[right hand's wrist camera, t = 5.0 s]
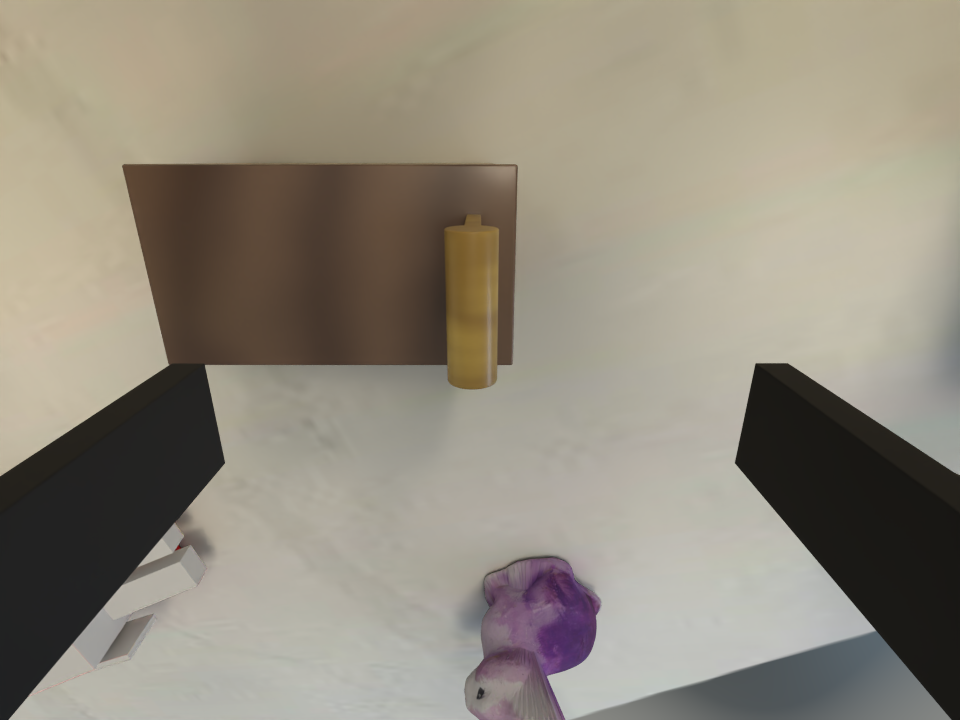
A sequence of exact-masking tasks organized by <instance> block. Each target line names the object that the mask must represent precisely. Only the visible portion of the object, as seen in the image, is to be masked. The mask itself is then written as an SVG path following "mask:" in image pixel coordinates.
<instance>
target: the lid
mask: <svg viewBox="0 0 960 720" xmlns="http://www.w3.org/2000/svg"><path fill="white" fill-rule="evenodd" d="M122 167H123V171H124V175H125V180H126V184H127V188H128V193H129V197H130V201H131V205H132V210H133V214H134V218H135V222H136V227H137V231H138V235H139V239H140V244H141V248H142V252H143V257H144V261H145V265H146V269H147V274H148V278H149V282H150V286H151V291H152V295H153V299H154V304H155V308H156V312H157V316H158V321H159V325H160V329H161V333H162V338H163V342H164V346H165V351H166V355H167V359H168V363H169V365H171V364H172V363H204V364H205V365H447V367H448V381H449V383H450V384H451V385H453V386H455V387H458V388H462V389H482V388H486V387H489V386H492V385H493V384H494V383H495V382H496V381H497V365H512V364H513V329H514V289H515V250H516V210H517V170H518V167H517V165H515V164H124V165H123V166H122Z"/></svg>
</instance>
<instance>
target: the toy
mask: <svg viewBox="0 0 960 720" xmlns="http://www.w3.org/2000/svg"><path fill="white" fill-rule="evenodd" d="M183 537H184V535H183V534H182V532H181V531H180V529H179V528H178V527H177V525H176V524H175V523H174V524H173V525H172V527H171V528H170V529H169V530H168V531H167V532H166V534H165V535H164V536H163V537H162V538H161V540H160V541H159V542H158V543H157V544H156V545H155V547H154V548H153V549H152V550H151V551H150V553H149V554H148V555H147V556H146V557H145V558H144V560H143V561H142V562H141V563H140V564H139V566H138V567H137V568H136V569H135V570H134V572H133V573H132V574H131V575H130V576H129V577H128V579H127V580H126V581H125V582H124V583H123V585H122V586H121V587H120V588H119V589H118V590H117V592H116V593H115V594H114V595H113V596H112V598H111V599H110V600H109V601H108V602H107V604H106V605H105V606H104V607H103V608H102V609H101V611H100V612H99V613H98V614H97V615H96V617H95V618H94V619H93V620H92V621H91V622H90V624H89V625H88V626H87V627H86V628H85V630H84V631H83V632H82V633H81V634H80V635H79V637H78V638H77V639H76V640H75V641H74V643H73V644H72V645H71V646H70V647H69V649H68V650H67V651H66V652H65V653H64V654H63V656H62V657H61V658H60V659H59V660H58V662H57V663H56V664H55V665H54V666H53V667H52V669H51V670H50V671H49V672H48V673H47V675H46V676H45V677H44V678H43V679H42V680H41V682H40V683H39V684H38V685H37V686H36V688H35V689H34V690H33V691H32V692H31V694H30V695H29V696H31V695H33V694H36V693H38V692H41V691H43V690H46V689H48V688H51V687H53V686H56V685H58V684H60V683H63V682H65V681H68V680H70V679H73V678H75V677H78V676H80V675H83V674H85V673H89V672H92V671H95V670H98V669H101V668H105V667H108V666H111V665H114V664H117V663H121V662H124V661H127V660H130V659H131V658H132V656H133V655H134V653H135V651H136V650H137V648H138V647H139V645H140V644H141V642H142V641H143V639H144V638H145V636H146V635H147V633H148V631H149V630H150V628H151V627H152V625H153V624H154V622H155V621H156V619H157V617H156V616H155V614H151V615H148V616H145V617H142V618H138V619H135V620H132V621H129V622H127V620H128V619H129V617H130V616H131V614H132V613H133V612H135V611H137V610H140V609H142V608H145V607H147V606H150V605H152V604H155V603H157V602H160V601H162V600H164V599H167V598H169V597H172V596H174V595H177V594H179V593H182V592H184V591H187V590H189V589H191V588H194V587H196V586H198V584H199V582H200V581H201V579H202V577H203V575H204V573H205V571H206V570H207V567H206V566H205V564H204V563H203V561H202V560H201V559H200V557H199V556H198V554H197V553H196V552H195V550H194V549H193V547H192V546H191V545H188V546H186V547H184V548H180V546H179V543H180V542H181V540H182V539H183ZM29 696H28V697H29Z"/></svg>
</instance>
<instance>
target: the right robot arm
mask: <svg viewBox="0 0 960 720" xmlns="http://www.w3.org/2000/svg"><path fill="white" fill-rule="evenodd" d="M224 464H225V460H224V456H223V451H222V446H221V441H220V436H219V432H218V427H217V422H216V417H215V412H214V408H213V403H212V398H211V393H210V388H209V383H208V379H207V374H206V369H205V364H204V363H172V364H171V365H169V366H168V367H166V368H164V369H163V370H161V371H160V372H158V373H157V374H155V375H154V376H152V377H151V378H149V379H148V380H146V381H145V382H143V383H142V384H140V385H139V386H137V387H136V388H134V389H133V390H131V391H129V392H128V393H126V394H125V395H123V396H122V397H120V398H119V399H117V400H116V401H114V402H113V403H111V404H110V405H108V406H107V407H105V408H104V409H102V410H101V411H99V412H98V413H96V414H95V415H93V416H91V417H90V418H88V419H87V420H85V421H84V422H82V423H81V424H79V425H78V426H76V427H75V428H73V429H72V430H70V431H69V432H67V433H66V434H64V435H63V436H61V437H60V438H58V439H56V440H55V441H53V442H52V443H50V444H49V445H47V446H46V447H44V448H43V449H41V450H40V451H38V452H37V453H35V454H34V455H32V456H31V457H29V458H28V459H26V460H25V461H23V462H21V463H20V464H18V465H17V466H15V467H14V468H12V469H11V470H9V471H8V472H6V473H5V474H3V475H2V476H0V720H9V718H10V717H11V716H12V715H13V714H14V712H15V711H16V710H17V709H18V708H19V707H20V705H21V704H22V703H23V702H24V701H25V699H26V698H27V697H28V696H29V695H30V694H31V692H32V691H33V690H34V689H35V688H36V686H37V685H38V684H39V683H40V682H41V680H42V679H43V678H44V677H45V676H46V675H47V673H48V672H49V671H50V670H51V669H52V667H53V666H54V665H55V664H56V663H57V662H58V660H59V659H60V658H61V657H62V656H63V654H64V653H65V652H66V651H67V650H68V649H69V647H70V646H71V645H72V644H73V643H74V641H75V640H76V639H77V638H78V637H79V635H80V634H81V633H82V632H83V631H84V630H85V628H86V627H87V626H88V625H89V624H90V622H91V621H92V620H93V619H94V618H95V617H96V615H97V614H98V613H99V612H100V611H101V609H102V608H103V607H104V606H105V605H106V604H107V602H108V601H109V600H110V599H111V598H112V596H113V595H114V594H115V593H116V592H117V590H118V589H119V588H120V587H121V586H122V585H123V583H124V582H125V581H126V580H127V579H128V577H129V576H130V575H131V574H132V573H133V572H134V570H135V569H136V568H137V567H138V566H139V564H140V563H141V562H142V561H143V560H144V558H145V557H146V556H147V555H148V554H149V553H150V551H151V550H152V549H153V548H154V547H155V545H156V544H157V543H158V542H159V541H160V540H161V538H162V537H163V536H164V535H165V534H166V532H167V531H168V530H169V529H170V528H171V527H172V525H173V524H174V523H175V522H176V521H177V519H178V518H179V517H180V516H181V515H182V513H183V512H184V511H185V510H186V509H187V508H188V506H189V505H190V504H191V503H192V502H193V500H194V499H195V498H196V497H197V496H198V495H199V493H200V492H201V491H202V490H203V489H204V487H205V486H206V485H207V484H208V483H209V481H210V480H211V479H212V478H213V477H214V476H215V474H216V473H217V472H218V471H219V470H220V468H221V467H222V466H223V465H224ZM735 464H736V465H737V466H738V467H739V468H740V470H741V471H742V472H743V473H744V474H745V476H746V477H747V478H748V479H749V480H750V482H751V483H752V484H753V485H754V486H755V487H756V489H757V490H758V491H759V492H760V493H761V495H762V496H763V497H764V498H765V499H766V500H767V502H768V503H769V504H770V505H771V506H772V508H773V509H774V510H775V511H776V512H777V513H778V515H779V516H780V517H781V518H782V519H783V521H784V522H785V523H786V524H787V525H788V527H789V528H790V529H791V530H792V531H793V532H794V534H795V535H796V536H797V537H798V538H799V540H800V541H801V542H802V543H803V544H804V545H805V547H806V548H807V549H808V550H809V551H810V553H811V554H812V555H813V556H814V557H815V558H816V560H817V561H818V562H819V563H820V564H821V566H822V567H823V568H824V569H825V570H826V572H827V573H828V574H829V575H830V576H831V577H832V579H833V580H834V581H835V582H836V583H837V585H838V586H839V587H840V588H841V589H842V590H843V592H844V593H845V594H846V595H847V596H848V598H849V599H850V600H851V601H852V602H853V604H854V605H855V606H856V607H857V608H858V609H859V611H860V612H861V613H862V614H863V615H864V617H865V618H866V619H867V620H868V621H869V622H870V624H871V625H872V626H873V627H874V628H875V630H876V631H877V632H878V633H879V634H880V635H881V637H882V638H883V639H884V640H885V641H886V643H887V644H888V645H889V646H890V647H891V649H892V650H893V651H894V652H895V653H896V654H897V656H898V657H899V658H900V659H901V660H902V662H903V663H904V664H905V665H906V666H907V667H908V669H909V670H910V671H911V672H912V673H913V675H914V676H915V677H916V678H917V679H918V680H919V682H920V683H921V684H922V685H923V686H924V688H925V689H926V690H927V691H928V692H929V694H930V695H931V696H932V697H933V698H934V699H935V701H936V702H937V703H938V704H939V705H940V707H941V708H942V709H943V710H944V711H945V712H946V714H947V715H948V716H949V717H950V718H951V720H960V475H958V474H956V473H954V472H952V471H951V470H949V469H948V468H946V467H945V466H943V465H942V464H940V463H939V462H937V461H935V460H934V459H932V458H931V457H929V456H928V455H926V454H925V453H923V452H922V451H920V450H919V449H917V448H916V447H914V446H913V445H911V444H910V443H908V442H907V441H905V440H904V439H902V438H900V437H899V436H897V435H896V434H894V433H893V432H891V431H890V430H888V429H887V428H885V427H884V426H882V425H881V424H879V423H878V422H876V421H875V420H873V419H872V418H870V417H869V416H867V415H865V414H864V413H862V412H861V411H859V410H858V409H856V408H855V407H853V406H852V405H850V404H849V403H847V402H846V401H844V400H843V399H841V398H840V397H838V396H837V395H835V394H834V393H832V392H831V391H829V390H827V389H826V388H824V387H823V386H821V385H820V384H818V383H817V382H815V381H814V380H812V379H811V378H809V377H808V376H806V375H805V374H803V373H802V372H800V371H799V370H797V369H796V368H794V367H792V366H791V365H789V364H788V363H756V364H755V369H754V374H753V379H752V383H751V388H750V393H749V398H748V403H747V408H746V412H745V417H744V422H743V427H742V432H741V436H740V441H739V446H738V451H737V456H736V460H735Z"/></svg>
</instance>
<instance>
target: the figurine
mask: <svg viewBox="0 0 960 720" xmlns="http://www.w3.org/2000/svg"><path fill="white" fill-rule="evenodd" d="M484 585H485V586H484V587H485V588H484V589H485V598H486V600H487V602H488V604H489V607H490V608H489V610H488V611H487V613H486V614H485V616H484V618H483V620H482V625H481V640H482V646H483V653H484V659H483V661H482V662H481V663H480V665H479V666H478V667H477V668H476V669H475V670H474V671H473V672H472V673H471V674H470V675H469V676H468V678H467V679H466V682H465V700H466V707H467V709H468V710H469V711H470V712H471V713H472V714H473V715H475V716H476V717H477V718H478V719H479V720H565V718H564V716H563V713H562V711H561V709H560V706H559V704H558V702H557V699H556V697H555V695H554V693H553V690H552V688H551V686H550V683H549V681H548V679H547V676H548V675H551V674H555V673H559V672H562V671H565V670H568V669H570V668H573V667H575V666H577V665H579V664H580V663H582V662H583V661H584V660H585V659H586V658H587V657H588V655H589V654H590V652H591V650H592V648H593V645H594V641H595V637H596V614H597V613H598V612H599V611H600V609H601V606H602V605H601V600H600V598H599V597H598V596H597V595H596V594H595V593H594V592H592V591H591V590H589V589H587V588H586V587H584V586H582V585H581V584H579V583H578V582H576V580H575V579H574V575H573V571H572V568H571V566H570V565H569V564H568V563H567V562H565V561H563V560H560V559H558V558H554V557H551V558H538V559H528V560H523V561H517V562H515V563H514V564H512V565H510V566H508V567H507V568H506V569H503V570H501V571H497V572H493V573H491V574H489V575H487V576H486V578H485V580H484Z"/></svg>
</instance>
